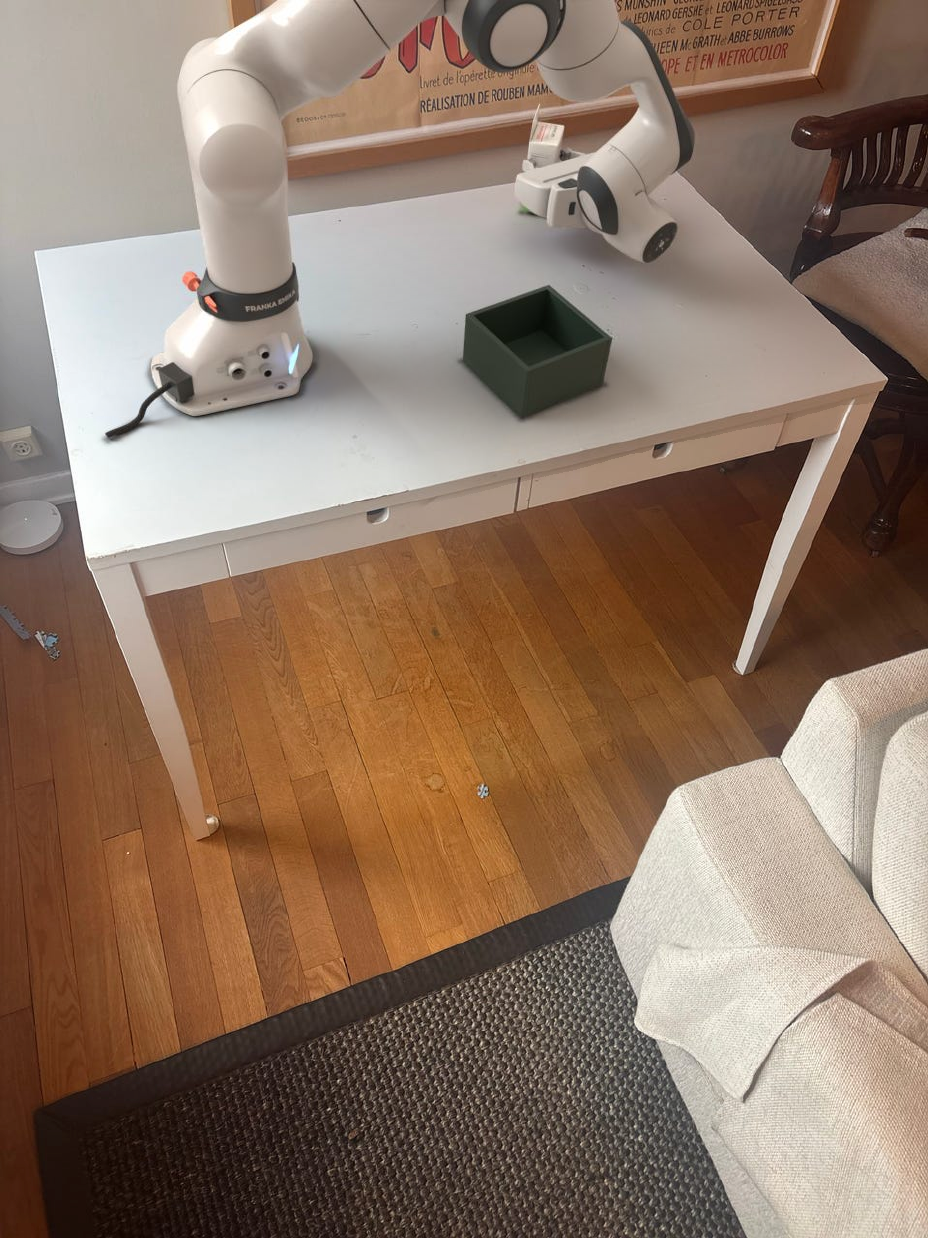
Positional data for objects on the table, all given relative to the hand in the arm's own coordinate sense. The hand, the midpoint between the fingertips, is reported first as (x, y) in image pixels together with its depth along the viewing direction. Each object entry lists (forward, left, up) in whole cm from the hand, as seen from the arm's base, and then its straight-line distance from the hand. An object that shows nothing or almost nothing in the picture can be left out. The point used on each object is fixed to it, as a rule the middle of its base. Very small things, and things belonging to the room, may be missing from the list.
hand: (544, 157), depth 160 cm
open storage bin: (-28, -36, -9) cm, 46 cm away
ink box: (+1, +1, -9) cm, 9 cm away
